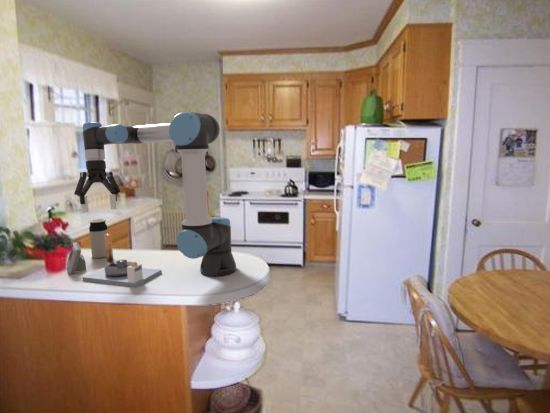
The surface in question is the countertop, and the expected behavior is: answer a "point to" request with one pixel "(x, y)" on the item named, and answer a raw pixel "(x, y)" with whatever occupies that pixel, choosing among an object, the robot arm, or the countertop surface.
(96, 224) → the travel mug
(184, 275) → the countertop surface
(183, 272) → the countertop surface
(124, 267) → the crank
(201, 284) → the countertop surface
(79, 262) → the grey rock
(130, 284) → the stand
